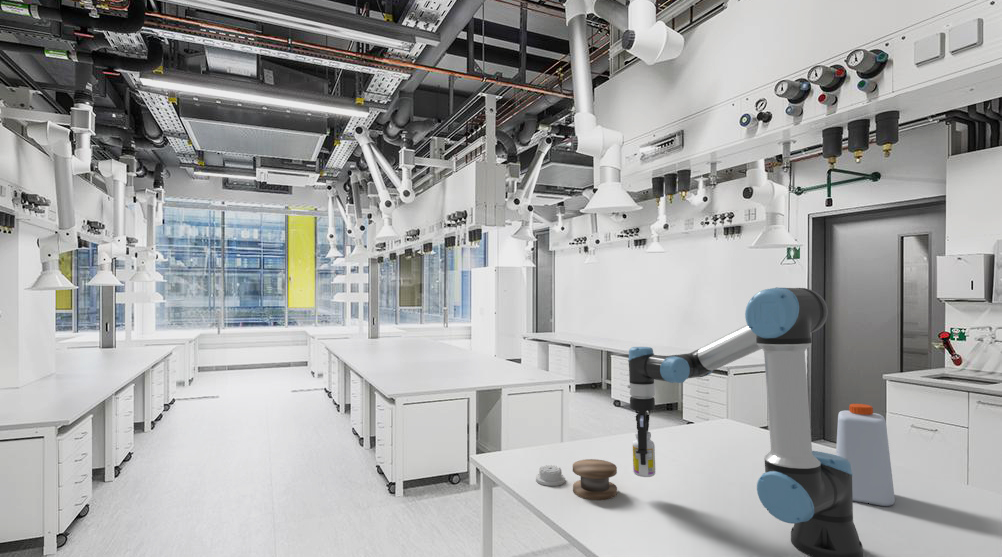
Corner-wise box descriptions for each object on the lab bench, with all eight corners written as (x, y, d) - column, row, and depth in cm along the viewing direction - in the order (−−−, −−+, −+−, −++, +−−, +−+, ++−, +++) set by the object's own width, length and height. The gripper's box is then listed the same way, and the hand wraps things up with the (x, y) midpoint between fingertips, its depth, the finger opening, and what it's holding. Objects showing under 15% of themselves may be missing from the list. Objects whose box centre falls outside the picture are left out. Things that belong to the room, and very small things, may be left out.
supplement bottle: (638, 469, 164) (637, 428, 165) (658, 473, 160) (657, 431, 160) (629, 474, 159) (628, 433, 159) (650, 479, 155) (648, 436, 155)
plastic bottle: (892, 493, 161) (889, 403, 162) (896, 510, 149) (892, 413, 149) (835, 483, 170) (832, 398, 170) (834, 498, 157) (831, 407, 158)
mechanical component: (542, 474, 181) (531, 484, 172) (542, 461, 181) (531, 470, 172) (569, 478, 177) (559, 488, 168) (569, 465, 177) (559, 475, 168)
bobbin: (624, 497, 159) (624, 471, 159) (581, 501, 156) (581, 475, 157) (606, 481, 173) (606, 457, 173) (567, 485, 170) (566, 460, 170)
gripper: (632, 390, 171) (634, 460, 170) (627, 401, 152) (629, 480, 151) (655, 391, 168) (657, 462, 167) (653, 403, 150) (655, 482, 149)
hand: (644, 470), depth 159 cm, fingers closed on supplement bottle, 7 cm apart
